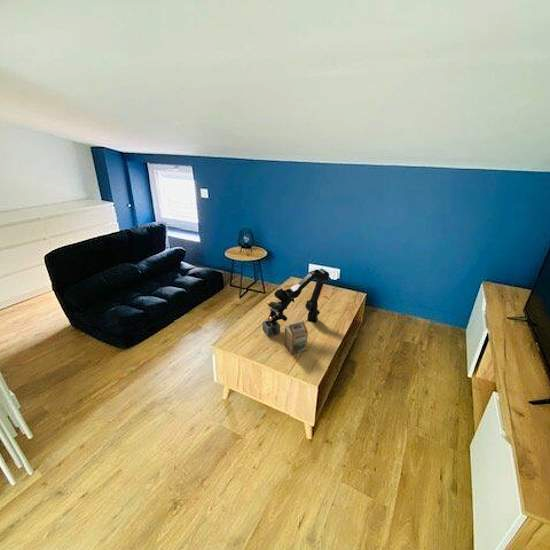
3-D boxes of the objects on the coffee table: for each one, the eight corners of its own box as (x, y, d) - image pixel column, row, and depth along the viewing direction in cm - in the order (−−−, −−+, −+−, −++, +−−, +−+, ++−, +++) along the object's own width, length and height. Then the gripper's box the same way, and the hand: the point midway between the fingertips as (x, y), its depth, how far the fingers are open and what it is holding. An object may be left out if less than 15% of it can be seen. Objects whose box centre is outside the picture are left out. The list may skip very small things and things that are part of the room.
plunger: (273, 324, 205) (273, 314, 202) (277, 329, 200) (278, 318, 196) (264, 327, 203) (264, 316, 199) (269, 332, 197) (269, 321, 194)
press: (274, 326, 208) (274, 318, 205) (281, 335, 199) (281, 326, 196) (262, 329, 204) (262, 321, 201) (269, 338, 195) (269, 330, 192)
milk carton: (291, 354, 180) (292, 329, 172) (284, 344, 189) (285, 319, 181) (306, 350, 184) (308, 325, 176) (298, 341, 193) (300, 316, 185)
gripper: (270, 292, 201) (256, 309, 201) (283, 304, 186) (267, 323, 186) (280, 299, 208) (266, 316, 208) (293, 312, 193) (278, 330, 192)
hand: (269, 321), depth 198 cm, fingers closed on plunger, 4 cm apart
